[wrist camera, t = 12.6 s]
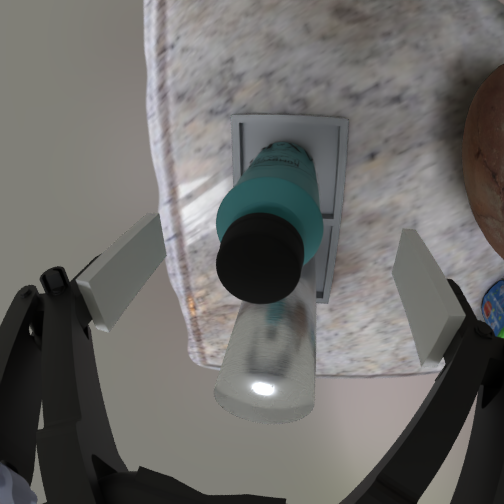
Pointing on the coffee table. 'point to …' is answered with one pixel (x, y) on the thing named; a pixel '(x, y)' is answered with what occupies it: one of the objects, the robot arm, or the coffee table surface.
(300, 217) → the beverage bottle
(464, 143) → the jug
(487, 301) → the snack cup
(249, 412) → the canister
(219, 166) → the coffee table surface
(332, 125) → the tray
